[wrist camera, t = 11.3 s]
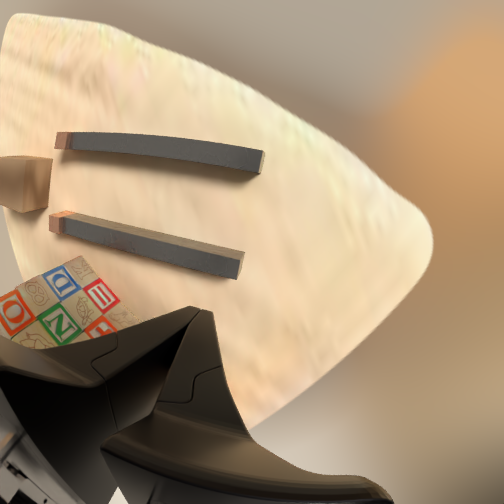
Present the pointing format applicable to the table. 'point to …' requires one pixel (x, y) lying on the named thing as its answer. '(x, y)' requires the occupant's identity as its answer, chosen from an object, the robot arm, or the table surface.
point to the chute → (147, 240)
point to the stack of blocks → (62, 308)
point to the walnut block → (25, 182)
